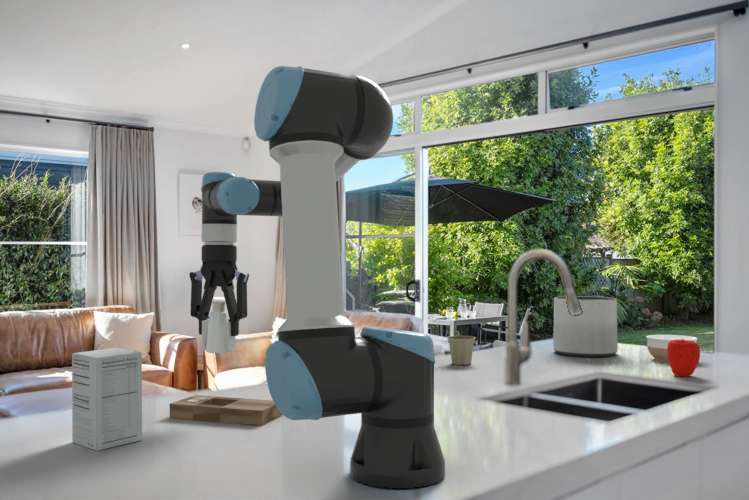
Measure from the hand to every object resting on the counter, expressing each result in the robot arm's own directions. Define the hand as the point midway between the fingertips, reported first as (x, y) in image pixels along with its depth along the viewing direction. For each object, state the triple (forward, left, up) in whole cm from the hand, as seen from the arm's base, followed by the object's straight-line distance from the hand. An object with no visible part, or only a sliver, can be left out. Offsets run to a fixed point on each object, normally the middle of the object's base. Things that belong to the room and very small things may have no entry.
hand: (218, 350), depth 151 cm
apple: (+87, -103, -14) cm, 136 cm away
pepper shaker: (0, 0, 0) cm, 0 cm away
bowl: (+119, -103, -14) cm, 158 cm away
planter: (+127, -75, -14) cm, 148 cm away
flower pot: (+89, -37, -14) cm, 97 cm away
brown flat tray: (0, -2, -14) cm, 14 cm away
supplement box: (-25, +9, -14) cm, 30 cm away
